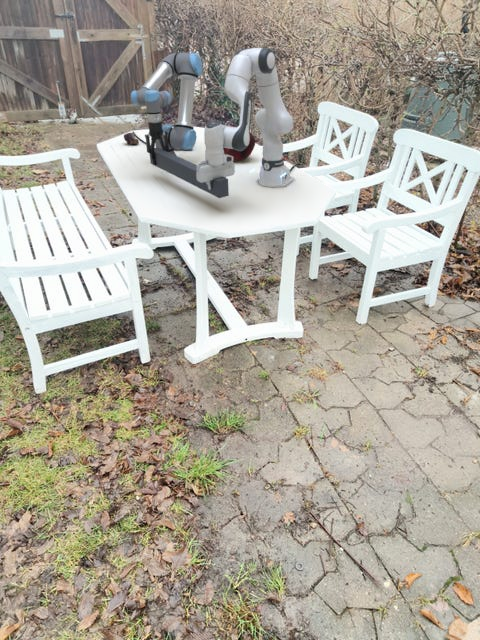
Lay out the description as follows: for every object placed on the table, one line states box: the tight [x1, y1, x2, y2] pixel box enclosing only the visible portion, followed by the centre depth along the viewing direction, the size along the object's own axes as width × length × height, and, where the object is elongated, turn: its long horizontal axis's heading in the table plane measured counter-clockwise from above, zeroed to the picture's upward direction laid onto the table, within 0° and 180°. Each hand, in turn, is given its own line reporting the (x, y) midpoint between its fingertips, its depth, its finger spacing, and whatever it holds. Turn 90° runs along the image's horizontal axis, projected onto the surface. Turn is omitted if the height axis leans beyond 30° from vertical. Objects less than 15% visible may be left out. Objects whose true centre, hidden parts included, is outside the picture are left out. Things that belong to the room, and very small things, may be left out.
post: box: [148, 147, 230, 199], centre depth 240 cm, size 74×6×8 cm, turn 35°
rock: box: [123, 132, 140, 145], centre depth 336 cm, size 12×9×10 cm
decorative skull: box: [223, 132, 257, 162], centre depth 296 cm, size 21×24×25 cm
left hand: (159, 164), depth 262 cm, fingers closed on post, 6 cm apart
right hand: (216, 187), depth 220 cm, fingers closed on post, 5 cm apart
